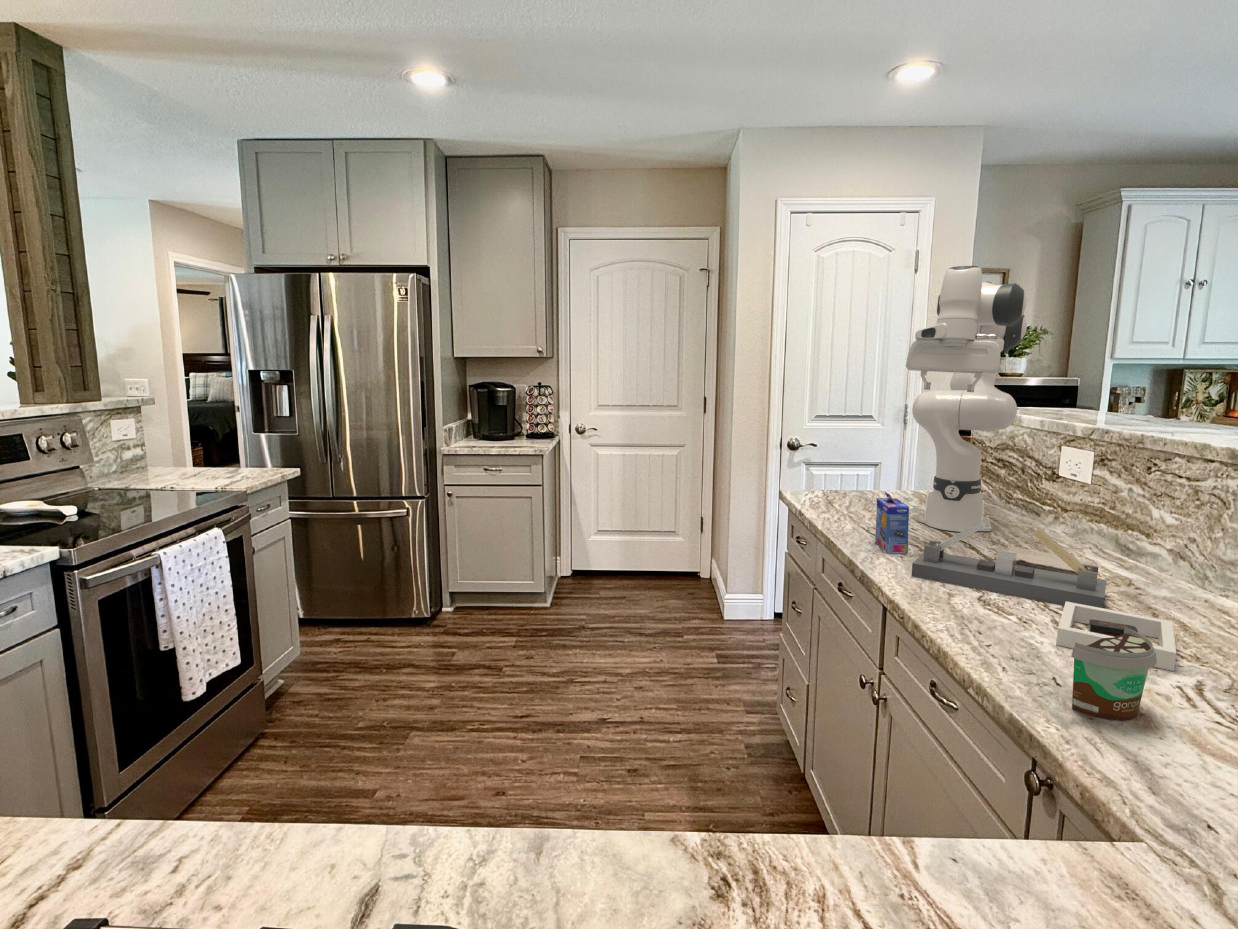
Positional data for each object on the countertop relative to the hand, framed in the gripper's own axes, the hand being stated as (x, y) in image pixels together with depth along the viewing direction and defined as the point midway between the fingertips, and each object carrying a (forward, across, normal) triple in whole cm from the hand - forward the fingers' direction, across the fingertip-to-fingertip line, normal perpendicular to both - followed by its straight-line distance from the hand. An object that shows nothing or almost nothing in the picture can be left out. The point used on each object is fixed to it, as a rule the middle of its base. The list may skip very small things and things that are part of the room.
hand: (948, 390), depth 153 cm
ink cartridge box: (+41, +9, -1) cm, 42 cm away
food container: (+47, -24, +68) cm, 86 cm away
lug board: (+42, -15, +18) cm, 48 cm away
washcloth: (+40, -24, +1) cm, 47 cm away
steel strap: (+34, -6, +17) cm, 38 cm away
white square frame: (+43, -29, +42) cm, 67 cm away
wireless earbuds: (+44, -29, +41) cm, 67 cm away
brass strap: (+33, -23, +21) cm, 46 cm away
